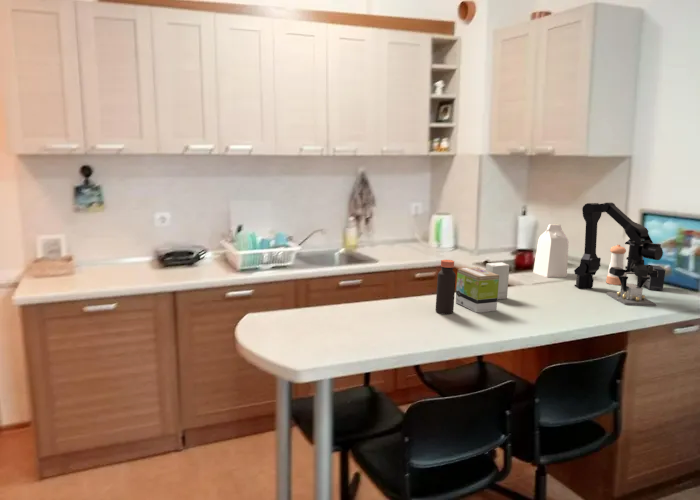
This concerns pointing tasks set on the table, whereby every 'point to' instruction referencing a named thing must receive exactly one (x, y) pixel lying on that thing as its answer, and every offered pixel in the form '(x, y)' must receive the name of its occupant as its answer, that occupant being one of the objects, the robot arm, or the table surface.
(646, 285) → the small box
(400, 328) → the table surface
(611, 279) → the pepper shaker
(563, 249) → the milk
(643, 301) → the pin tray
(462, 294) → the tea box
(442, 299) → the bottle
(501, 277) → the skincare box
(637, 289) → the block
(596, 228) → the robot arm
